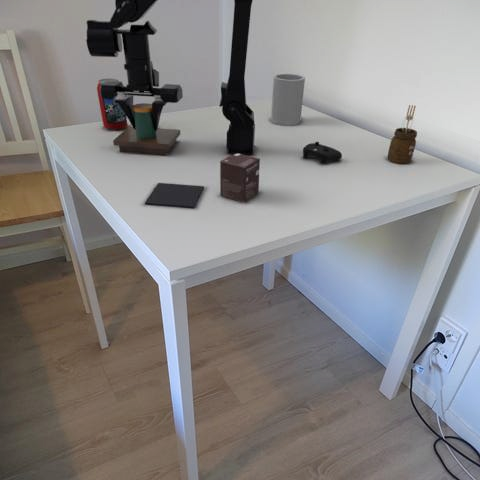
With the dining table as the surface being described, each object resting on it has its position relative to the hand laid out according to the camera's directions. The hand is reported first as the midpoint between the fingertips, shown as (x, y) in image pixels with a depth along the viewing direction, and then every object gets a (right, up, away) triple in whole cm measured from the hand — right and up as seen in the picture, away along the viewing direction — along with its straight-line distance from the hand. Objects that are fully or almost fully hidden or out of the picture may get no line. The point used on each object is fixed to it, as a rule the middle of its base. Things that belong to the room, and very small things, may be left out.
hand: (145, 129), depth 107 cm
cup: (+38, +13, +25) cm, 47 cm away
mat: (+10, -22, -19) cm, 31 cm away
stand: (0, -3, +4) cm, 5 cm away
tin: (0, -1, +1) cm, 2 cm away
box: (+24, -22, -17) cm, 36 cm away
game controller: (+44, -7, 0) cm, 44 cm away
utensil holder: (+64, -7, +1) cm, 64 cm away
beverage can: (-12, +7, +16) cm, 21 cm away
